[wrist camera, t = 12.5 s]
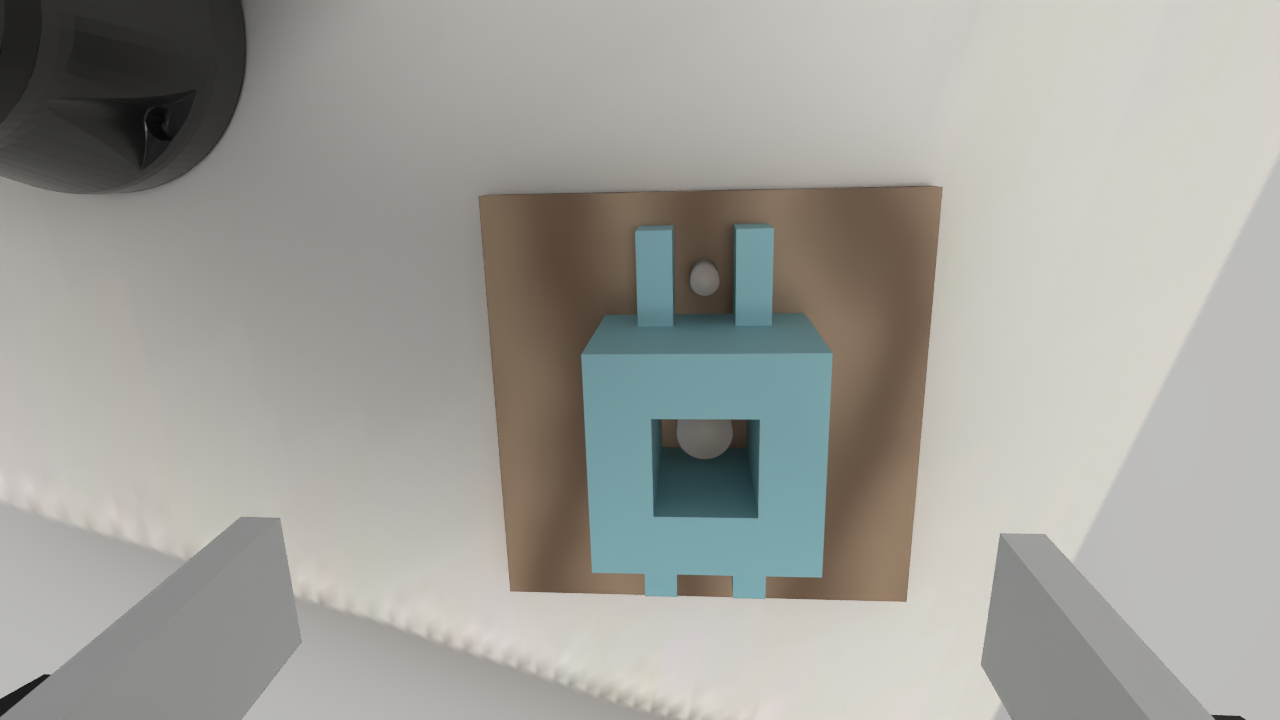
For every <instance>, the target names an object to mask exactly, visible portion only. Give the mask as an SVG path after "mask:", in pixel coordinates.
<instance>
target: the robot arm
mask: <svg viewBox="0 0 1280 720" xmlns="http://www.w3.org/2000/svg"><path fill="white" fill-rule="evenodd" d="M244 59H245V36H244V24H243V16H242V10H241V5H240V0H0V176H2V177H6V178H9V179H12V180H15V181H18V182H21V183H25V184H28V185H31V186H34V187H38V188H42V189H46V190H51V191H57V192H64V193H73V194H106V193H123V192H134V191H141V190H145V189H149V188H153V187H156V186H159V185H162V184H164V183H167V182H169V181H171V180H173V179H175V178H177V177H179V176H180V175H182V174H183V173H185V172H186V171H188V170H189V169H191V168H192V167H193V166H194V165H196V164H197V163H198V162H199V161H200V160H201V159H202V158H203V157H204V156H205V155H206V154H207V153H208V152H209V151H210V150H211V148H212V147H213V146H214V145H215V143H216V142H217V141H218V139H219V138H220V136H221V135H222V133H223V131H224V130H225V128H226V126H227V124H228V122H229V120H230V118H231V116H232V113H233V110H234V108H235V105H236V102H237V99H238V96H239V92H240V87H241V83H242V77H243V70H244ZM300 644H301V636H300V630H299V624H298V618H297V613H296V607H295V601H294V595H293V589H292V584H291V578H290V572H289V567H288V561H287V555H286V549H285V544H284V538H283V532H282V526H281V521H280V518H258V517H240V518H239V519H238V520H237V521H236V522H234V523H233V524H232V525H231V526H230V527H228V528H227V529H226V530H225V531H224V532H222V533H221V534H220V535H219V536H218V537H216V538H215V539H214V540H213V541H212V542H210V543H209V544H208V545H207V546H206V547H204V548H203V549H202V550H201V551H200V552H198V553H197V554H196V555H195V556H193V557H192V558H191V559H190V560H189V561H187V562H186V563H185V564H184V565H183V566H182V567H180V568H179V569H178V570H177V571H175V572H174V573H173V574H172V575H171V576H170V577H168V578H167V579H166V580H165V581H164V582H162V583H161V584H160V585H159V586H158V587H156V588H155V589H154V590H153V591H151V592H150V593H149V594H148V595H147V596H145V597H144V598H143V599H142V600H141V601H139V602H138V603H137V604H136V605H135V606H133V607H132V608H131V609H130V610H129V611H128V612H126V613H125V614H124V615H123V616H121V617H120V618H119V619H118V620H117V621H115V622H114V623H113V624H112V625H111V626H109V627H108V628H107V629H106V630H105V631H103V632H102V633H101V634H100V635H99V636H97V637H96V638H95V639H94V640H93V641H92V642H90V643H89V644H88V645H87V646H85V647H84V648H83V649H82V650H81V651H79V652H78V653H77V654H76V655H75V656H73V657H72V658H71V659H70V660H69V661H67V662H66V663H65V664H64V665H63V666H61V667H60V668H59V669H58V670H56V671H55V672H54V673H53V674H52V675H46V674H45V675H42V676H41V677H39V678H37V679H35V680H33V681H32V682H30V683H28V684H26V685H24V686H23V687H21V688H19V689H17V690H16V691H14V692H12V693H10V694H8V695H7V696H5V697H3V698H1V699H0V720H241V719H242V718H243V717H244V716H245V714H246V713H247V712H248V710H249V709H250V708H251V707H252V705H253V704H254V703H255V702H256V700H257V699H258V698H259V696H260V695H261V694H262V693H263V691H264V690H265V689H266V687H267V686H268V685H269V683H270V682H271V681H272V680H273V678H274V677H275V676H276V675H277V673H278V672H279V671H280V669H281V668H282V667H283V665H284V664H285V663H286V662H287V660H288V659H289V658H290V656H291V655H292V654H293V653H294V651H295V650H296V649H297V647H298V646H299V645H300ZM981 666H982V667H983V669H984V671H985V673H986V674H987V676H988V678H989V680H990V682H991V683H992V685H993V687H994V689H995V690H996V692H997V694H998V696H999V698H1000V699H1001V701H1002V703H1003V705H1004V706H1005V708H1006V710H1007V712H1008V714H1009V715H1010V717H1011V719H1012V720H1245V719H1244V718H1242V717H1241V716H1223V715H1210V714H1209V713H1208V711H1207V710H1206V709H1205V708H1204V707H1203V706H1202V705H1201V704H1200V703H1199V702H1198V700H1197V699H1196V698H1195V697H1194V696H1193V695H1192V694H1191V693H1190V692H1189V691H1188V689H1187V688H1186V687H1185V686H1184V685H1183V684H1182V683H1181V682H1180V681H1179V680H1178V679H1177V678H1176V676H1175V675H1174V674H1173V673H1172V672H1171V671H1170V670H1169V669H1168V668H1167V667H1166V666H1165V665H1164V663H1163V662H1162V661H1161V660H1160V659H1159V658H1158V657H1157V656H1156V655H1155V653H1154V652H1152V650H1151V649H1150V648H1149V647H1148V646H1147V645H1146V644H1145V643H1144V641H1142V640H1141V638H1140V637H1139V636H1138V635H1137V634H1136V633H1135V632H1134V631H1133V630H1132V628H1131V627H1130V626H1129V625H1128V624H1127V623H1126V622H1125V621H1124V620H1123V619H1122V618H1121V616H1119V614H1118V613H1117V612H1116V611H1115V610H1114V609H1113V608H1112V607H1111V605H1110V604H1109V603H1108V602H1107V601H1106V600H1105V599H1104V598H1103V597H1102V596H1101V595H1100V594H1099V592H1098V591H1097V590H1096V589H1095V588H1094V587H1093V586H1092V585H1091V584H1090V583H1089V582H1088V581H1087V579H1086V578H1085V577H1084V576H1083V575H1082V574H1081V573H1080V572H1079V571H1078V570H1077V568H1076V567H1075V566H1074V565H1073V564H1072V563H1071V562H1070V561H1069V560H1068V559H1067V558H1066V556H1065V555H1064V554H1063V553H1062V552H1061V551H1060V550H1059V549H1058V548H1057V547H1056V546H1055V544H1054V543H1053V542H1052V541H1051V540H1050V539H1049V538H1048V537H1047V536H1046V535H1045V534H1005V533H1000V538H999V545H998V552H997V559H996V566H995V572H994V579H993V586H992V593H991V600H990V606H989V613H988V620H987V627H986V633H985V640H984V647H983V654H982V661H981Z"/></svg>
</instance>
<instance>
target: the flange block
mask: <svg viewBox="0 0 1280 720" xmlns="http://www.w3.org/2000/svg"><path fill="white" fill-rule="evenodd" d="M635 243H636V279H637V315H605V316H604V318H603V319H602V321H601V323H600V324H599V326H598V328H597V329H596V331H595V333H594V334H593V336H592V338H591V339H590V341H589V343H588V344H587V346H586V347H585V349H584V351H583V352H582V354H581V360H582V380H583V400H584V420H585V440H586V461H587V481H588V501H589V521H590V542H591V562H592V573H625V574H645V596H667V597H677V588H678V575H721V576H731V580H732V593H733V598H752V599H765V593H766V576H769V577H817V578H822V569H823V548H824V527H825V505H826V484H827V463H828V441H829V420H830V399H831V377H832V356H833V353H832V352H831V350H830V349H829V347H828V346H827V344H826V343H825V342H824V340H823V339H822V337H821V336H820V334H819V333H818V331H817V330H816V329H815V327H814V326H813V324H812V323H811V321H810V320H809V318H808V317H807V316H806V314H805V313H772V293H773V251H774V228H773V227H772V226H771V225H770V224H769V223H751V224H734V228H733V314H675V263H674V225H648V226H639V227H638V228H637V230H636V231H635ZM662 419H747V446H746V448H727V450H726V451H725V452H723V453H722V454H721V455H719V456H717V457H715V458H711V459H699V458H695V457H693V456H691V455H689V454H687V453H686V452H685V451H684V450H683V449H682V447H662Z"/></svg>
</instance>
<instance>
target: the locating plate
mask: <svg viewBox="0 0 1280 720" xmlns="http://www.w3.org/2000/svg"><path fill="white" fill-rule="evenodd" d="M941 199H942V187H937V186H902V187H852V188H802V189H752V190H702V191H651V192H601V193H551V194H501V195H484V196H479V207H480V219H481V232H482V244H483V257H484V269H485V282H486V294H487V306H488V319H489V331H490V344H491V356H492V369H493V381H494V394H495V406H496V418H497V431H498V443H499V456H500V468H501V481H502V493H503V506H504V518H505V531H506V543H507V555H508V568H509V580H510V591H520V592H558V593H596V594H634V595H645V574H625V573H592V562H591V542H590V521H589V501H588V481H587V461H586V440H585V420H584V400H583V380H582V360H581V354H582V352H583V351H584V349H585V347H586V346H587V344H588V343H589V341H590V339H591V338H592V336H593V334H594V333H595V331H596V329H597V328H598V326H599V324H600V323H601V321H602V319H603V318H604V316H605V315H637V279H636V243H635V231H636V230H637V228H638V227H639V226H648V225H674V263H675V314H733V228H734V224H751V223H769V224H770V225H771V226H772V227H773V228H774V251H773V293H772V313H805V314H806V316H807V317H808V318H809V320H810V321H811V323H812V324H813V326H814V327H815V329H816V330H817V331H818V333H819V334H820V336H821V337H822V339H823V340H824V342H825V343H826V344H827V346H828V347H829V349H830V350H831V352H832V353H833V356H832V377H831V399H830V420H829V441H828V463H827V484H826V505H825V527H824V548H823V569H822V578H817V577H769V576H766V593H765V598H786V599H824V600H862V601H900V602H906V600H907V589H908V577H909V566H910V554H911V543H912V532H913V520H914V509H915V497H916V486H917V474H918V463H919V451H920V440H921V428H922V417H923V405H924V394H925V382H926V371H927V359H928V348H929V336H930V325H931V313H932V302H933V291H934V279H935V268H936V256H937V245H938V233H939V222H940V210H941ZM746 446H747V419H662V447H682V449H683V450H684V451H685V452H686V453H687V454H689V455H691V456H693V457H695V458H699V459H711V458H715V457H717V456H719V455H721V454H722V453H723V452H725V451H726V450H727V448H746ZM677 596H710V597H733V593H732V580H731V576H721V575H678V588H677Z"/></svg>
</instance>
